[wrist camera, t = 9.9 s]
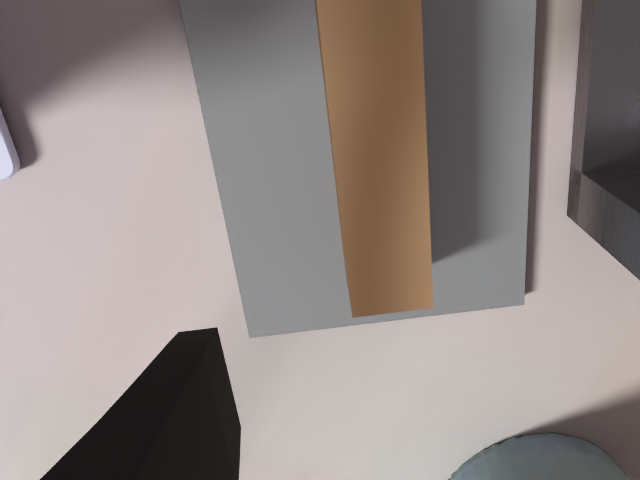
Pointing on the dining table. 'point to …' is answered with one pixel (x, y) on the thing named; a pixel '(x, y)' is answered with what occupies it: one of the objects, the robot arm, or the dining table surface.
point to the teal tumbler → (541, 460)
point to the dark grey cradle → (608, 130)
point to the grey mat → (317, 164)
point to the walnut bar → (379, 149)
